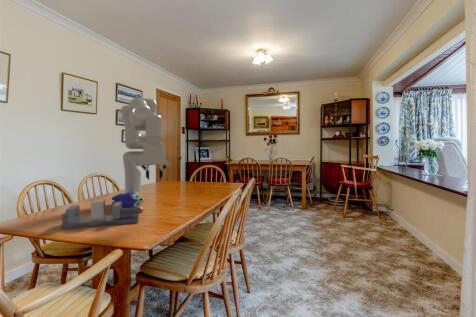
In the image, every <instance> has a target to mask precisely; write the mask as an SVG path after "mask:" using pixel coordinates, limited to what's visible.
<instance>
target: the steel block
mask: <svg viewBox="0 0 476 317" xmlns="http://www.w3.org/2000/svg"><path fill="white" fill-rule="evenodd" d="M105 216H106V199H97V200H95V199H94V200H92V201H91V202H90V217H91V221H93V220H104V218H105Z"/></svg>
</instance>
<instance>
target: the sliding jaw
mask: <svg viewBox="0 0 476 317" xmlns="http://www.w3.org/2000/svg"><path fill="white" fill-rule="evenodd" d="M143 212H144V209H143V207H140V206H139V207H137V208H123V209H122V202H115V203H114V205H112V215H113V219H120V218H121V216H122V215H126V214H139V215H140V214H143Z"/></svg>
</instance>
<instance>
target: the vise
mask: <svg viewBox="0 0 476 317" xmlns="http://www.w3.org/2000/svg"><path fill="white" fill-rule="evenodd" d="M80 213H81V211H80V204H75V205H74V204H73V205H70V206H69V207H68V208H67V209H65V212H64V213H62V214H61V229H62V230H67V229H80V228H89V227H90V228H91V227H92V228H93V227H102V226H103V227H105V226H116V225H127V224H128V225H129V224H138V223H139V219H140V213H139V214H126V215H122V216H121V218H120V219H113V214H111V215H110V214H109V215H105V218H104V220H93V221H91V216H83V217H81V214H80Z"/></svg>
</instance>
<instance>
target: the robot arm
mask: <svg viewBox="0 0 476 317" xmlns="http://www.w3.org/2000/svg"><path fill="white" fill-rule="evenodd" d="M129 102H130V103H129V104H127V105H123V106H122V107H121V109H120V116H121V119H122V123H123V124H124V142H125V147H126V148H127V149H128V150H129V149H130V150H131V151H126V152H124V153H123V155H122V162H123V167H124V169H123V170H124V193H127V192H134V191H135V192H138V193H139V194H140V196H141V198H142V199H143V200H141V203H142V202H144V201H145V199H144V197H142V173H141V171H140V169H139V168H138V167H141V168H142V169H143V170H144V171H145V178H146V179H147V180H150V171H149V170H150V169H149V168H150V166H157V165H158V167H159V171H158V172H159V173H158V174H159V180H162V178H163V177H164V176H163V172H164V170H165V169H166V168H167V167H168V166H169V165H170V164H171V163H170V161H169V160H168V159H167V158H166V151H165V150H166V149H165V144H164V143H163V127H162V126H163V125H162V124H163V123H162V122H163V121H162V116H161V115H159V114H156V113H157V110H158V104H157V102H156V101H155V100H154V99H153V98H148V97H147V98H144V97H134V98H132V99H131V100H130V101H129ZM140 132H144V133H145V134H144V133H140ZM137 150H142V151H137Z"/></svg>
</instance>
